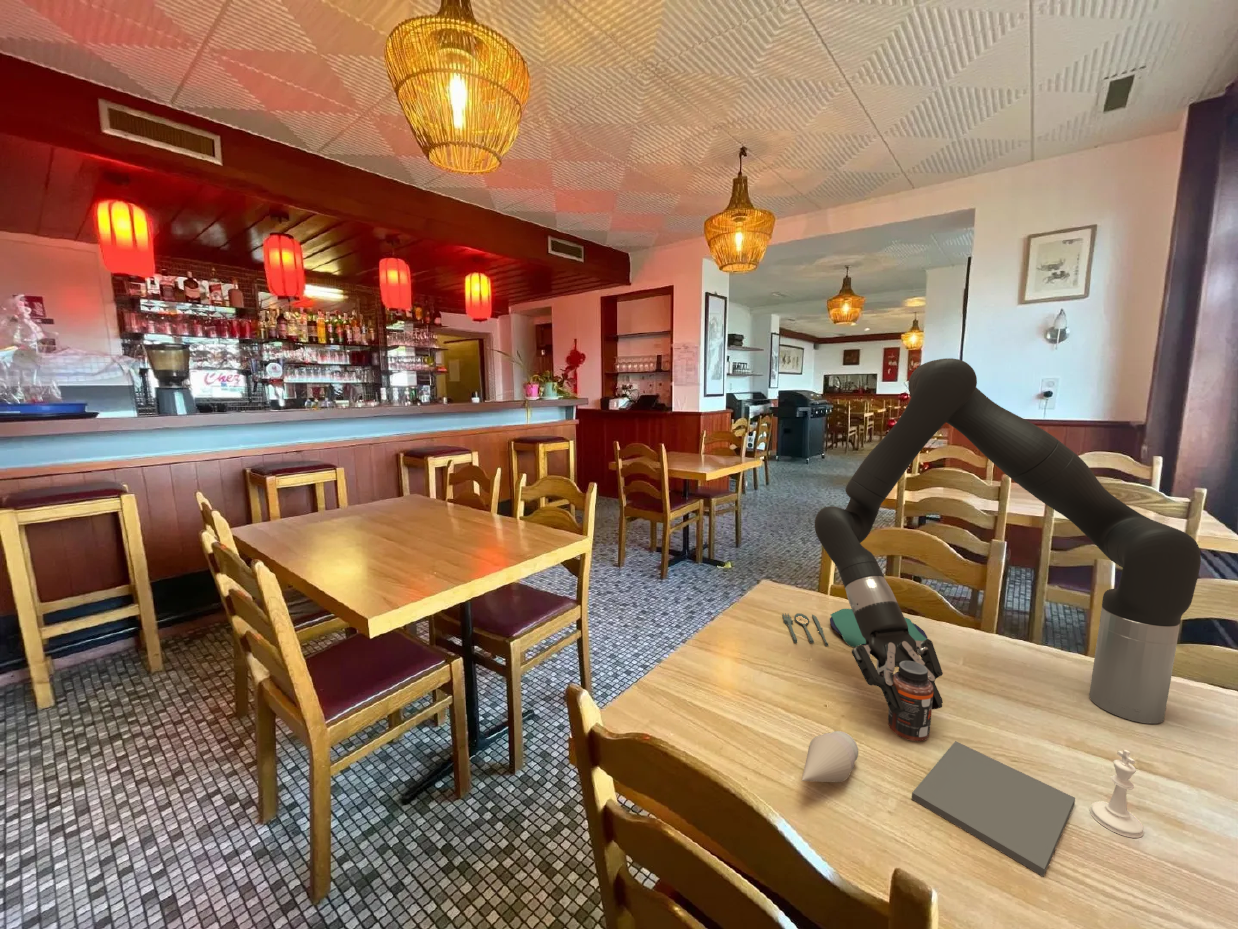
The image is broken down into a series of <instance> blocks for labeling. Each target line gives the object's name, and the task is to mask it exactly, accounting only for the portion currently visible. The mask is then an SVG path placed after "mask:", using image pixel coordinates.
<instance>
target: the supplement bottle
mask: <svg viewBox="0 0 1238 929" xmlns="http://www.w3.org/2000/svg"><path fill="white" fill-rule="evenodd" d="M927 678H928V670H927V668H926V667H925V666H923V665H922V664H920V663H917V662H913V661H902V662H900V663H899V667H898V669H897V672H893V684H892V686H895V687H896V689H897V691H898V694H899V696H900V699H901V701H902V704H903V706H904V709H905V711H904V712H901V713H896V714H895V713H894V712H893V710H891V709H890V708H889V707H888V713H887V725H888V728H890V730H891V731H892V732H893V733H894V734H895V735H896V736H898V737H900V738H903V739H905V740H908V741H910V742H911V741H912V742H923V741H926V740H928V739H929V736H930V733H931V723H932V714H933V713H932V711H933V710H932V703H933V685H932V683H931V682H930V681H929V680H928V679H927Z"/></svg>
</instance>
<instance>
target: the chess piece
mask: <svg viewBox="0 0 1238 929" xmlns="http://www.w3.org/2000/svg"><path fill="white" fill-rule="evenodd" d="M1116 754H1117V755H1118V756H1119V757H1120V758H1121V759H1114V760H1113V761H1112V762H1113V767H1114V770H1115V773H1116V774H1113V775H1111V776H1110V777H1109V779H1110V781H1111V782H1112V783H1113V784H1114V785H1115V786H1114V790H1113V793H1112V794H1111V797H1110V800H1109V802H1107V801H1103V800H1100V801H1099V800H1098V801H1093V802H1092V803H1091V804H1090V808H1089V814H1090V815H1091V816H1092V818H1093V819H1094V820H1095V821H1096V822H1098V823H1099V824H1100V825H1101V826H1103V827H1104V828H1106V829H1108V830H1109V831H1111V832H1112V833H1115V834H1118V835H1120V836H1123V837H1126V838H1133V839H1138V838H1141V837H1143V836H1144V832H1145V831H1144V826H1143V823H1142V822H1141V820H1139V818H1138V817H1136V816H1135V814H1133V813H1132V812H1130V811H1129V810H1128V802H1127V800H1128V799H1127V797H1128V796H1127V792H1128V791H1127V790H1134V789H1135V786H1134V783H1133V782H1132V781H1131V780H1130V779H1131V778H1132V776H1134V774H1136V772H1137V769H1136V767H1135V766H1134V765H1133V764H1136V763H1135V762H1136V760H1135V759H1133V758H1132V757H1131V751H1129V750H1128V749H1123V750H1117V753H1116Z"/></svg>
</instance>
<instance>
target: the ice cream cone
mask: <svg viewBox="0 0 1238 929" xmlns="http://www.w3.org/2000/svg"><path fill="white" fill-rule="evenodd" d="M808 745H809V746H808V748H807V753H806V754H807V755H806V758H805V763H804V768H803V773H802V777H801V782H820V783H821V782H824V783H841V782H845V781H846V780H847V779H849V777H850V774H851V772H852V770H853V769H854V766H855V763H856V761H857V760H858V758H859V747H858V745H857V742H856V741H855V739H854V738H853V737H852V736H851V735H850V734H848V733H847V732H844V731H841V730H836V731H832V732H826V733H823V734H820V735H817V736H814V737H813V738H812V739H811V740H810V743H809V744H808Z"/></svg>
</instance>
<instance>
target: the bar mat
mask: <svg viewBox="0 0 1238 929" xmlns="http://www.w3.org/2000/svg"><path fill="white" fill-rule="evenodd" d="M911 800H912V801H914V802H915V803H917V804H918V805H921V806H923V807H924V808H926V809H928V810H929V811H932V812H933V813H934V814H936V815H938V816H939V817H941V818H943V819H945V820H947V822H949V823H951V824H953V825H955V826H957V827H958V828H960V829H962V830H963V831H965V832H967V833H968V834H970V835H972V836H974V837H975V838H977V839H979V840H980V841H982V842H983V843H986V844H987V845H989V846H990V847H993V848H994V849H996V850H997V851H998V852H1000V853H1002V854H1004V855H1005V856H1007V857H1009V858H1011V859H1012V860H1014V861H1016V862H1018V863H1019V864H1021V865H1022V866H1024V867H1025V868H1028V869H1029V870H1031V871H1033V872H1034V873H1036V874H1038V875H1039V876H1041V877H1045V874H1046V873H1047V870H1048V868H1049V864H1050V862H1051V860H1052V858H1053V855H1054V853H1055V851H1056V849H1057V845H1058V843H1059V841H1060V840H1061V837H1062V834H1063V832H1064V831H1065V830H1064V829H1065V827H1066V825H1067V823H1068V820H1069V819H1070V816H1071V813H1072V811H1073V808H1074V806H1075V802H1076V797H1075V796H1072V795H1070V794H1068V793H1066V792H1065V791H1062V790H1059V789H1058V788H1056V787H1054V786H1052V785H1050V784H1047V783H1045V782H1042V781H1041V780H1039V779H1036V778H1034V777H1032V776H1030V775H1028V774H1026V773H1024V772H1022V771H1019V770H1017V769H1016V768H1013V767H1012V766H1009V765H1008V764H1005V763H1003V762H1001V761H1000V760H996V759H994V758H992V757H990V756H988V755H986V754H984V753H982V752H980V751H977V750H975V749H973V748H972V747H969V746H967V745H966V744H963V743H961V742H959V741H956V740H955V741H954V742H953V743H952V744H951V746H950V747H949V748H948V749H947V750H946V752H945V753H944V754H943V755H942V756H941V758H940V759H939V760H937V763H936V764H935V765H934V766H933V767H932V768H931V770H930V771H929V772H928V773H927V775H926V776H924V778H923V779H922V781H920V783H919V784H917V786H916V787H915V789H914V790H913V791H912V792H911Z"/></svg>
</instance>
